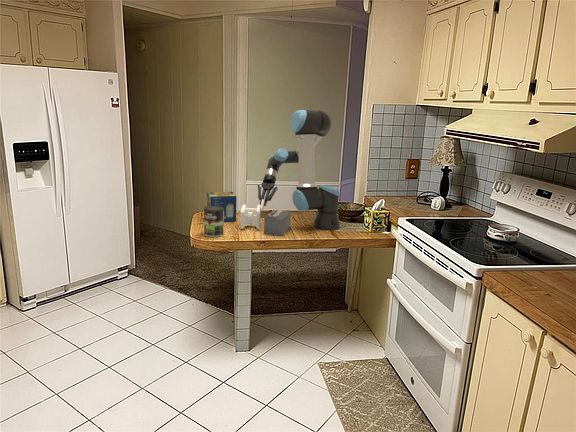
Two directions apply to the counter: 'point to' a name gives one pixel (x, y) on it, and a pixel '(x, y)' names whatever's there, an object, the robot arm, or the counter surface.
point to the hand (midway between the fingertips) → (261, 209)
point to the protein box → (224, 203)
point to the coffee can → (213, 221)
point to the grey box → (277, 222)
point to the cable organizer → (250, 216)
